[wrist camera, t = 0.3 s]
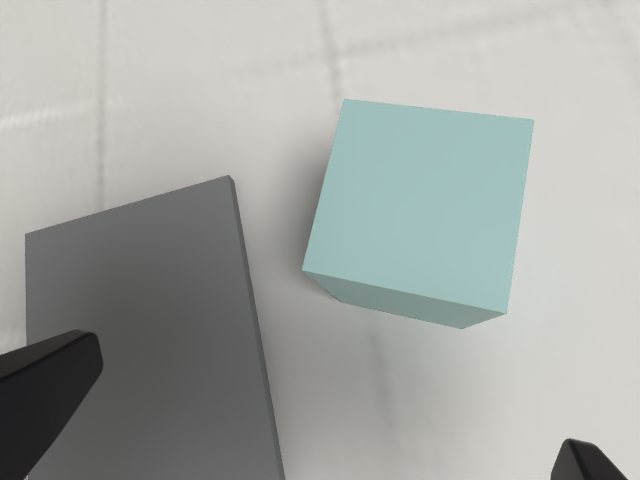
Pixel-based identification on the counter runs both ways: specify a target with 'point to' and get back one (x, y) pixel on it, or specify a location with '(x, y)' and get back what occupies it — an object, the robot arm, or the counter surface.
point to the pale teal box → (421, 211)
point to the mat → (158, 341)
